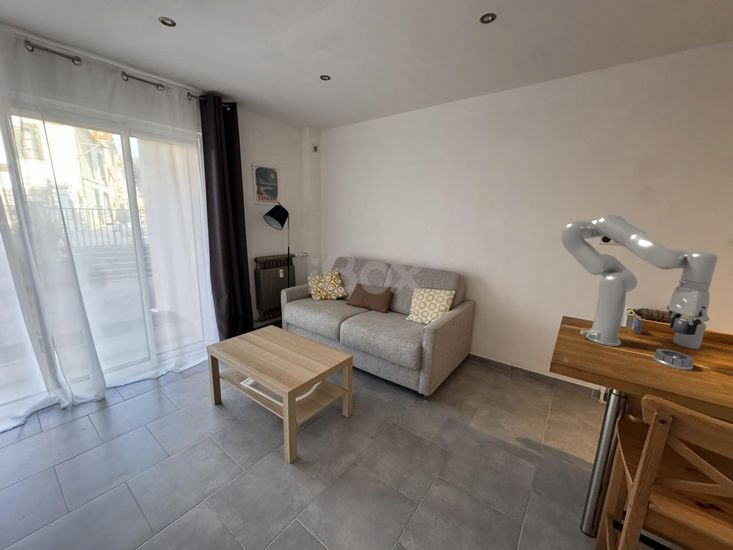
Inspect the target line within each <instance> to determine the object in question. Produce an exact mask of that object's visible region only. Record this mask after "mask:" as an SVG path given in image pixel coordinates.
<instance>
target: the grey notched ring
mask: <svg viewBox="0 0 733 550" xmlns="http://www.w3.org/2000/svg"><path fill="white" fill-rule="evenodd" d="M652 359H653V360H654V361H655V362H657V363H659V364H660V365H663V366H665V367H669V368H673V369H677V370H680V371H681V370H682V371H691V370H692V369H693V368H694V365H693V364H694V359H693V358H692V356H689V355H687V354H685V353H683V352H680V351H676V350H671V349H665V348H657V349H655V353H654V354H653V355H652Z"/></svg>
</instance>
